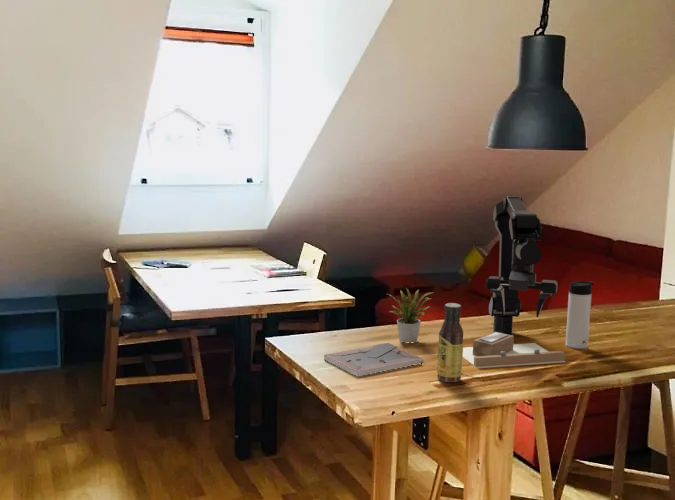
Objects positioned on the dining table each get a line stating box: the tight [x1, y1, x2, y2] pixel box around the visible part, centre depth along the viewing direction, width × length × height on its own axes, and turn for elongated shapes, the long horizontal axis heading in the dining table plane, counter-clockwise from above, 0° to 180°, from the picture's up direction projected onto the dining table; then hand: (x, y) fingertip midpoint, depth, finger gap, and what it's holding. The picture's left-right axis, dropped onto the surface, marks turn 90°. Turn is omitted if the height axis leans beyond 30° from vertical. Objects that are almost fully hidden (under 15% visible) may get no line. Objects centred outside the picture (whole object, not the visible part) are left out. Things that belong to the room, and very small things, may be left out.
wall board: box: [462, 342, 567, 369], centre depth 218 cm, size 18×26×4 cm
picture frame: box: [323, 342, 424, 377], centre depth 213 cm, size 16×2×22 cm
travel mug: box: [565, 280, 594, 351], centre depth 226 cm, size 6×7×20 cm
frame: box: [472, 331, 515, 356], centre depth 220 cm, size 6×12×4 cm, turn 139°
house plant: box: [387, 287, 435, 343], centre depth 231 cm, size 14×14×16 cm
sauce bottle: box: [436, 302, 464, 383], centre depth 197 cm, size 7×6×20 cm
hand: (520, 315), depth 214 cm, fingers open, 9 cm apart
